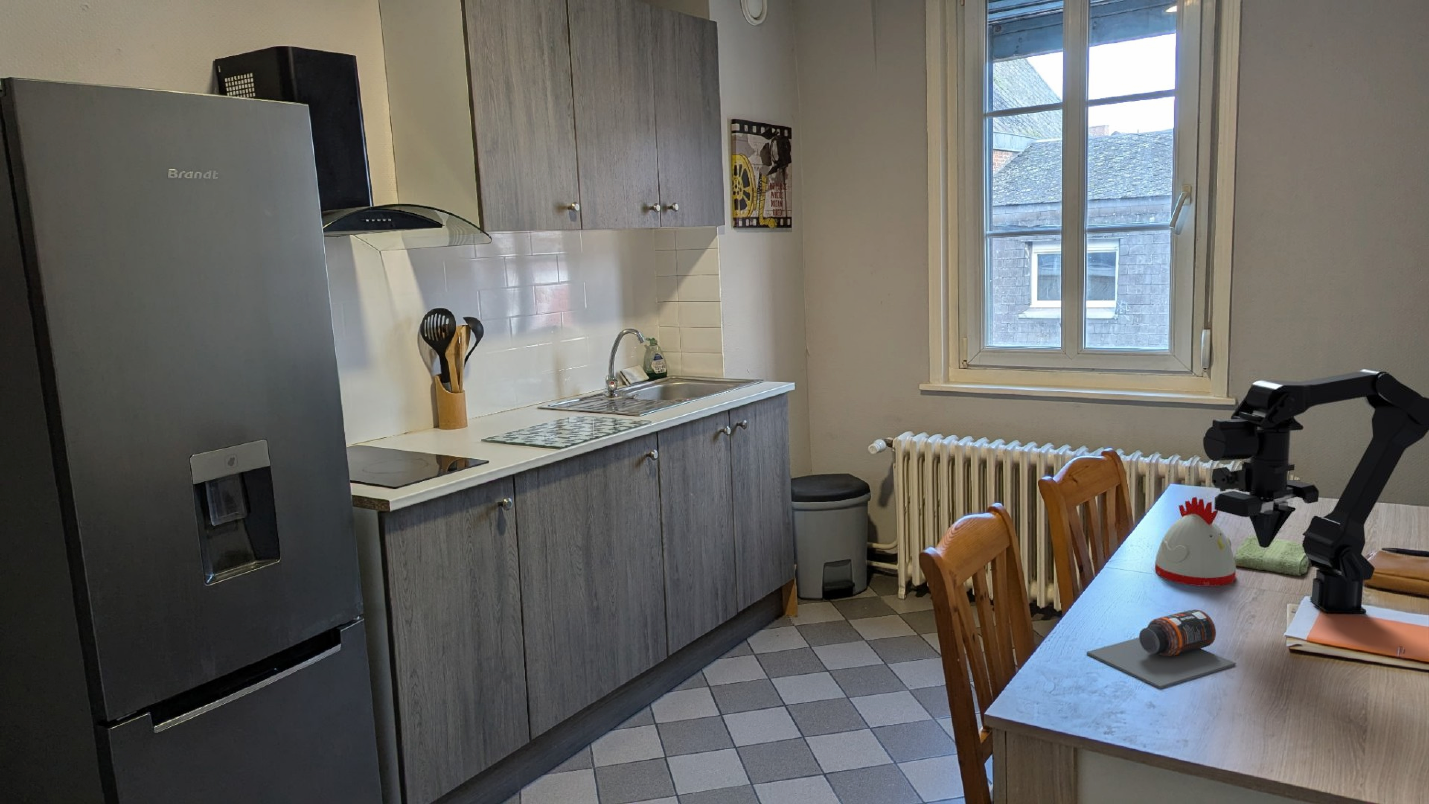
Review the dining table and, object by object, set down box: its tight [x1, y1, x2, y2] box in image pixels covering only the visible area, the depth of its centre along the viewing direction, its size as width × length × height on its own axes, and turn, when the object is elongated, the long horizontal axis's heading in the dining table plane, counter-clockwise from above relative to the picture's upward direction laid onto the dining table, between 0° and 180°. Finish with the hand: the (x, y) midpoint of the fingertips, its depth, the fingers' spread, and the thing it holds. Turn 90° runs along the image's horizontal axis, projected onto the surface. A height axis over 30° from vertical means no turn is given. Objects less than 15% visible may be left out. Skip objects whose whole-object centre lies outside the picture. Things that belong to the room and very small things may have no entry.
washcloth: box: [1234, 534, 1310, 577], centre depth 197 cm, size 13×18×3 cm
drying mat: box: [1086, 637, 1236, 690], centre depth 154 cm, size 16×14×1 cm
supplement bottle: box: [1138, 609, 1217, 657], centre depth 155 cm, size 6×6×11 cm
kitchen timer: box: [1154, 496, 1237, 587], centre depth 190 cm, size 14×14×15 cm
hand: (1264, 547), depth 169 cm, fingers closed
